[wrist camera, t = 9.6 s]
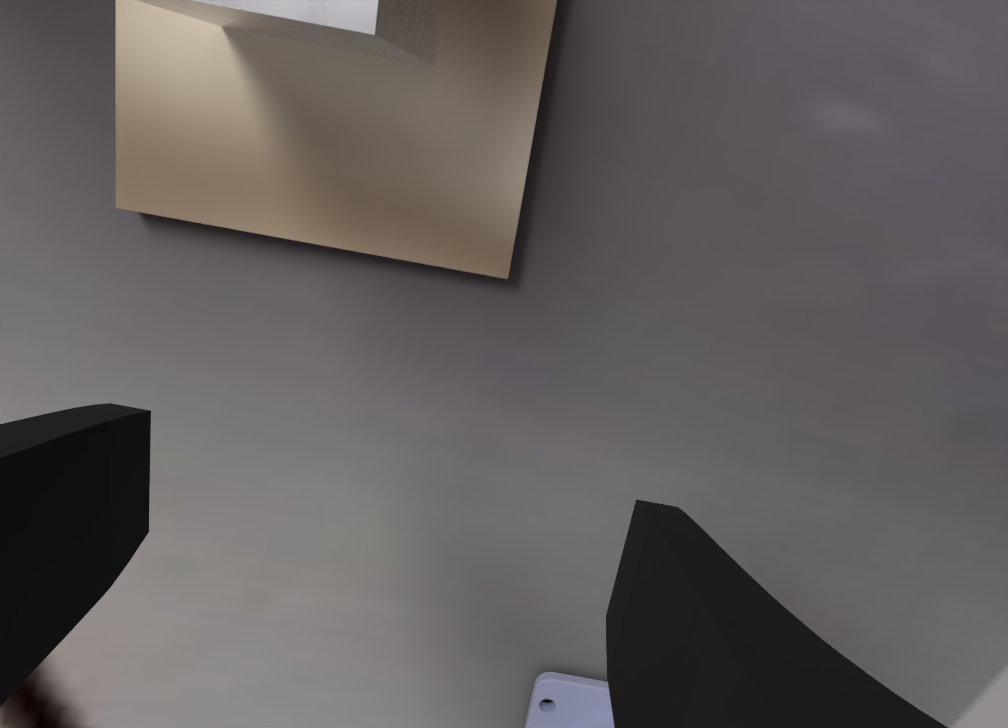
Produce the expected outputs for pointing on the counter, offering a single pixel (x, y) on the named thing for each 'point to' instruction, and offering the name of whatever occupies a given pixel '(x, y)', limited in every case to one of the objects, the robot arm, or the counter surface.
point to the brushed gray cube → (330, 23)
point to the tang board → (335, 132)
